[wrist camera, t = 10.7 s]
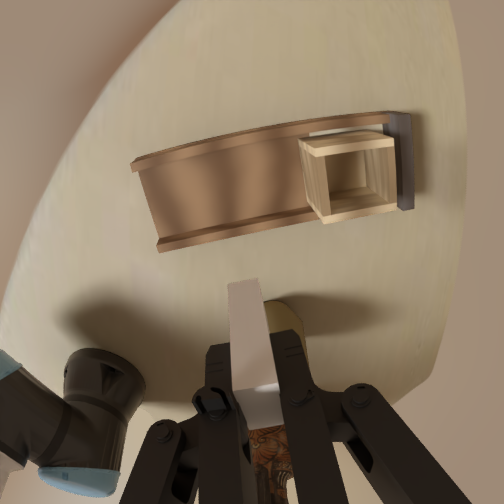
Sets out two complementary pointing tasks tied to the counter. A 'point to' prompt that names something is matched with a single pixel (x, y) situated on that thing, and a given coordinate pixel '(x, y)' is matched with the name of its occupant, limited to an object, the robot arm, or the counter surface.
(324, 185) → the crate
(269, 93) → the counter surface
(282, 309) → the squeeze bottle
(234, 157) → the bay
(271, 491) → the vase
